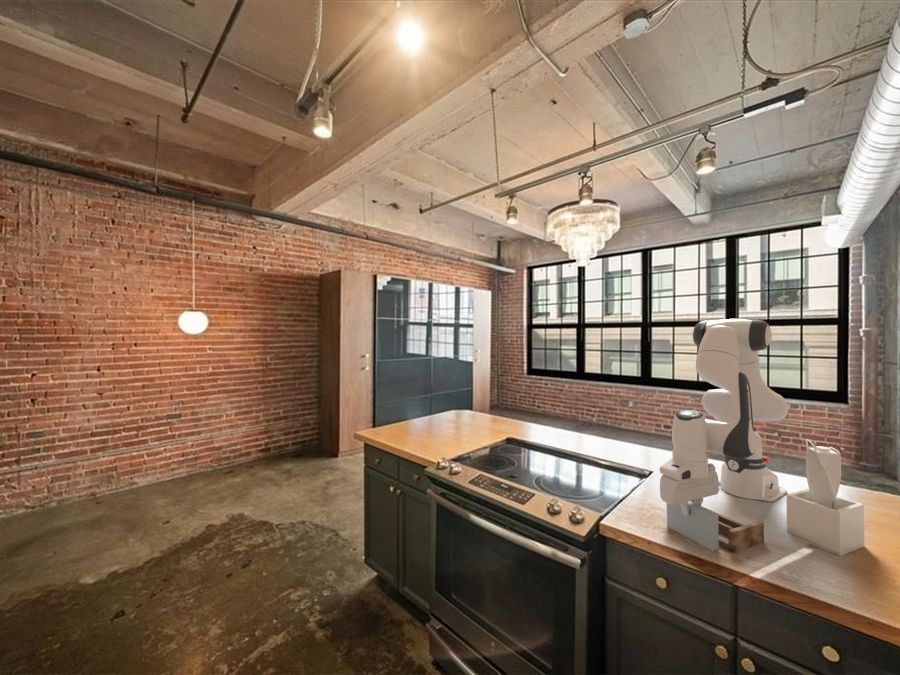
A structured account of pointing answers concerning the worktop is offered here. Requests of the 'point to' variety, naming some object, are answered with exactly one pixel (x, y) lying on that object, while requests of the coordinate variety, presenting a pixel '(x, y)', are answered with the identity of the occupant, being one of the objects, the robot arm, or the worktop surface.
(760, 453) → the robot arm
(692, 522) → the pale blue-grey board
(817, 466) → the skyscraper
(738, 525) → the rack
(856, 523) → the open white box
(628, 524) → the worktop surface
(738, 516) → the worktop surface
